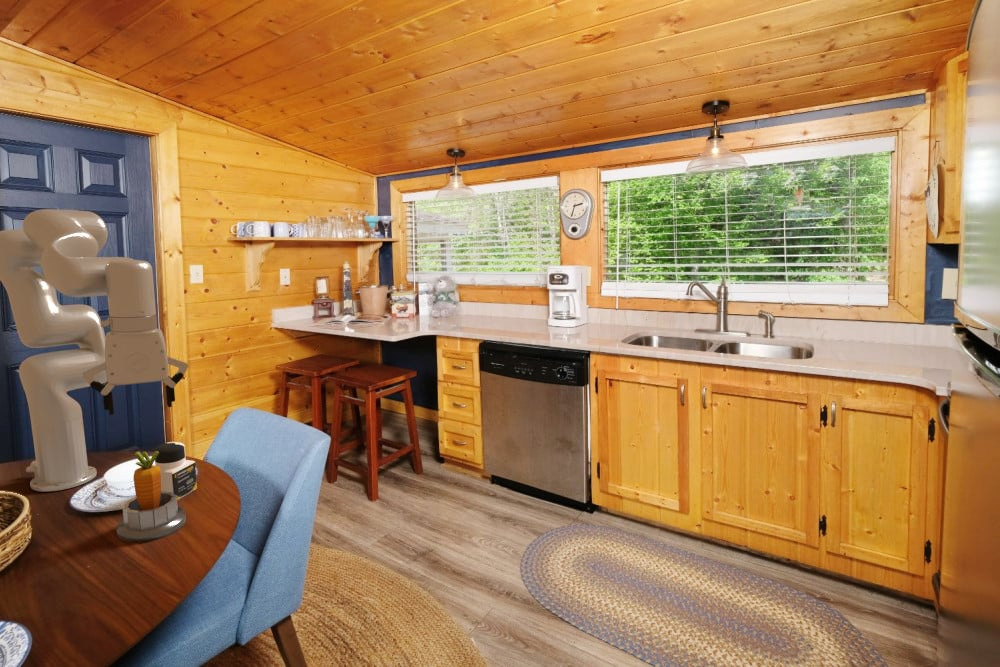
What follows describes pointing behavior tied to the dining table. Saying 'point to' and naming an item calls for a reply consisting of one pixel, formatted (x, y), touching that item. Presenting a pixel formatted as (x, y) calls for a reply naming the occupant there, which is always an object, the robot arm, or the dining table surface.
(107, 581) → the dining table surface
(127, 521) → the duct collar
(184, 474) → the medicine bottle
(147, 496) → the carrot
